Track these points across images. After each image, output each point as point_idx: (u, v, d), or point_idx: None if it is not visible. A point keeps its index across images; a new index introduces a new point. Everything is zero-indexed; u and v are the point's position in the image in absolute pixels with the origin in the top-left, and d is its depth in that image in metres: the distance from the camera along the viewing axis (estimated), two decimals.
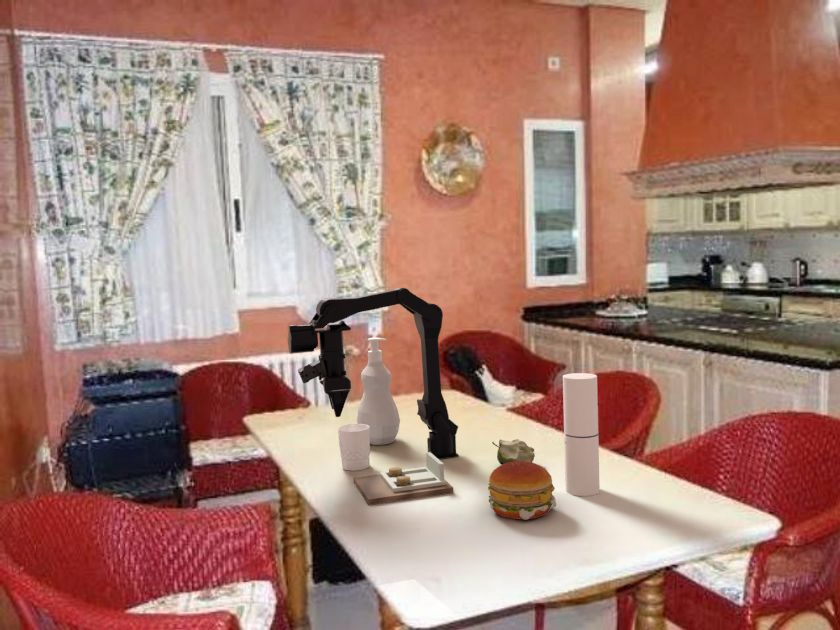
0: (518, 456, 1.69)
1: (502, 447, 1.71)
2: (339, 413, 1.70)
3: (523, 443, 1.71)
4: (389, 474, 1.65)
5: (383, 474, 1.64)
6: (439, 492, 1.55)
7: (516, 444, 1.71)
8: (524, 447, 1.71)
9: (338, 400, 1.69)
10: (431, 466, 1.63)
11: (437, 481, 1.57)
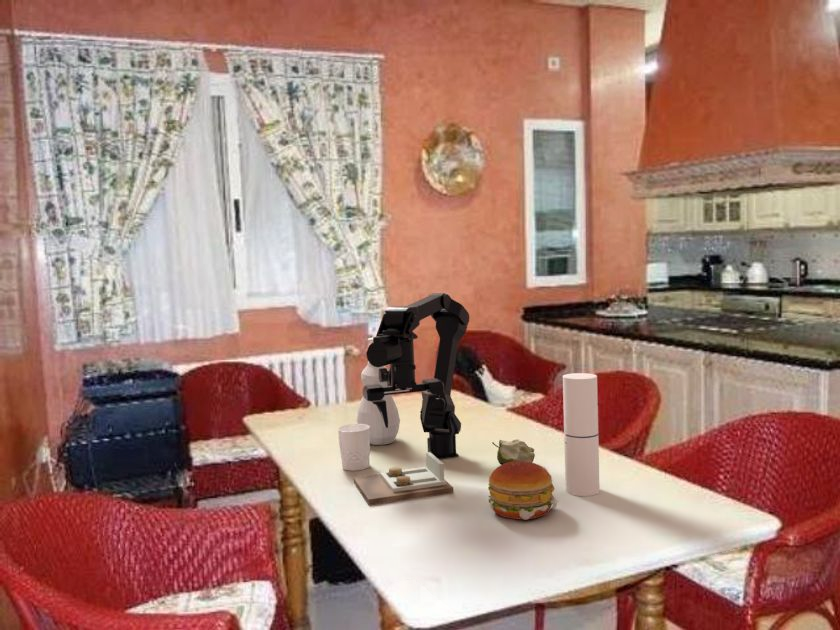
0: (518, 456, 1.68)
1: (502, 447, 1.70)
2: None
3: (523, 443, 1.71)
4: (389, 474, 1.65)
5: (383, 474, 1.64)
6: (439, 492, 1.55)
7: (516, 444, 1.71)
8: (524, 447, 1.70)
9: (381, 410, 1.67)
10: (431, 466, 1.63)
11: (437, 481, 1.57)
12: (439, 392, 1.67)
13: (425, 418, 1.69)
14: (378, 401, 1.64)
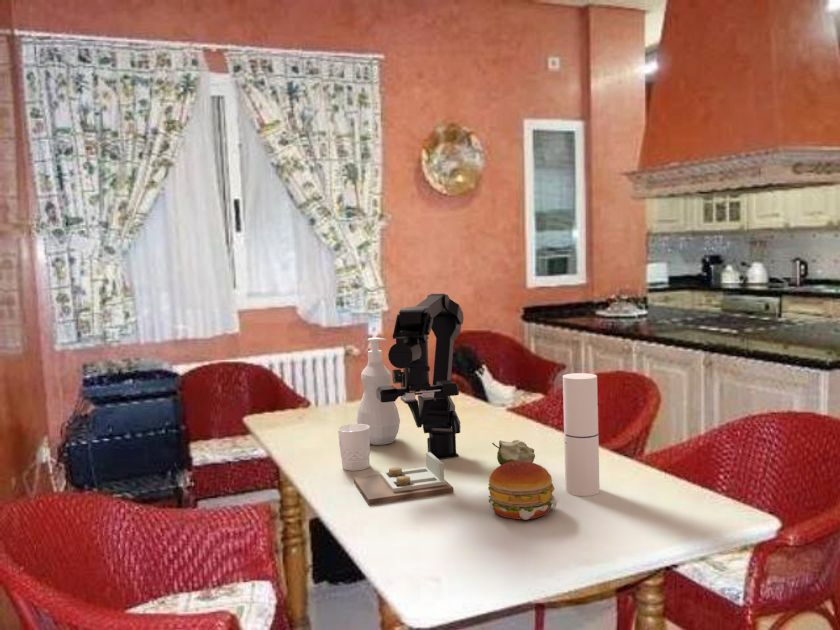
0: (518, 457, 1.68)
1: (502, 448, 1.70)
2: (416, 423, 1.67)
3: (523, 444, 1.71)
4: (389, 474, 1.65)
5: (383, 474, 1.64)
6: (439, 492, 1.55)
7: (516, 445, 1.70)
8: (524, 448, 1.70)
9: (412, 410, 1.66)
10: (431, 466, 1.63)
11: (437, 481, 1.57)
12: (453, 394, 1.66)
13: (421, 422, 1.66)
14: (410, 401, 1.64)
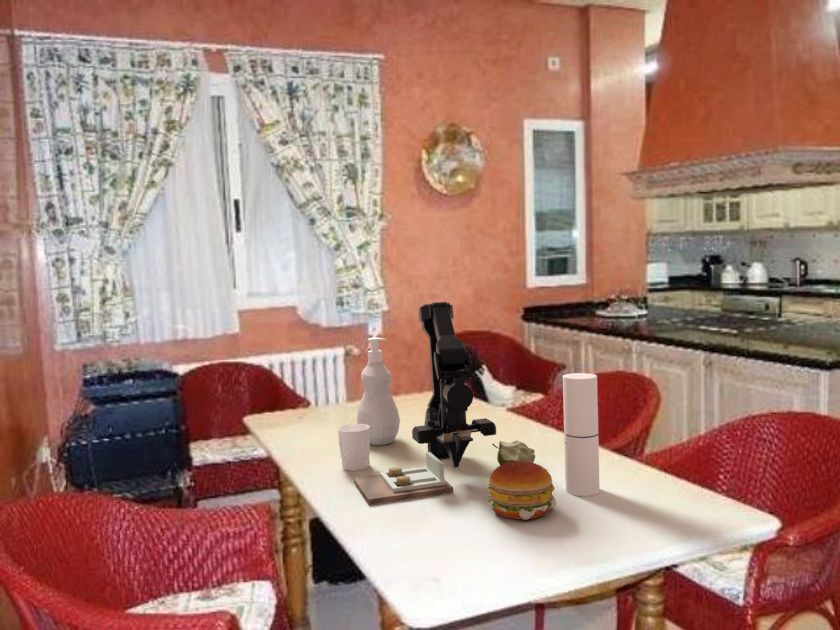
0: (518, 457, 1.67)
1: (502, 448, 1.69)
2: (453, 464, 1.64)
3: (523, 444, 1.70)
4: (389, 474, 1.65)
5: (383, 474, 1.64)
6: (439, 492, 1.55)
7: (516, 445, 1.70)
8: (524, 448, 1.70)
9: (449, 450, 1.63)
10: (431, 466, 1.63)
11: (437, 481, 1.57)
12: (491, 434, 1.63)
13: (458, 462, 1.63)
14: (448, 441, 1.60)
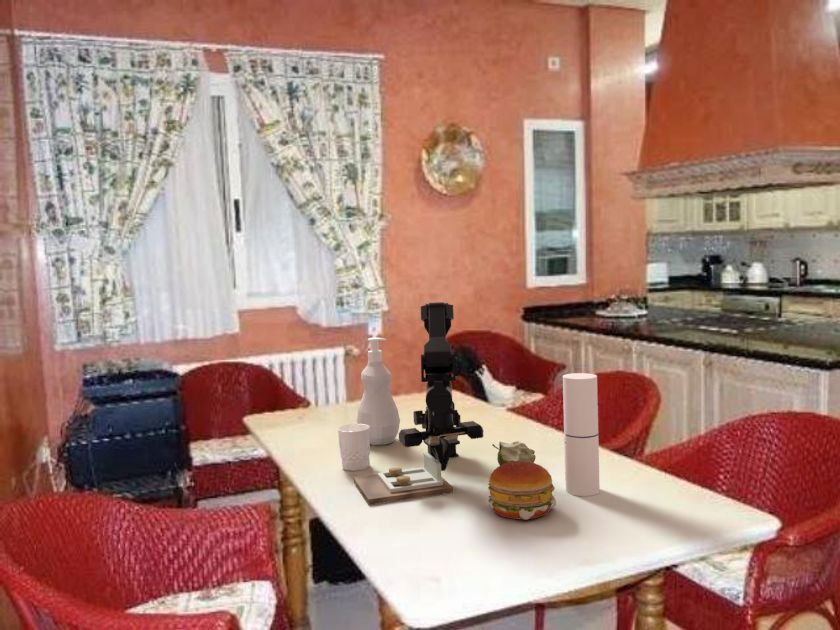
0: (519, 458, 1.67)
1: (503, 449, 1.69)
2: None
3: (524, 445, 1.70)
4: (386, 474, 1.65)
5: (380, 474, 1.64)
6: (439, 492, 1.55)
7: (517, 446, 1.69)
8: (525, 449, 1.69)
9: (436, 453, 1.62)
10: (429, 467, 1.63)
11: (434, 481, 1.57)
12: (478, 436, 1.62)
13: (445, 465, 1.62)
14: (435, 444, 1.59)
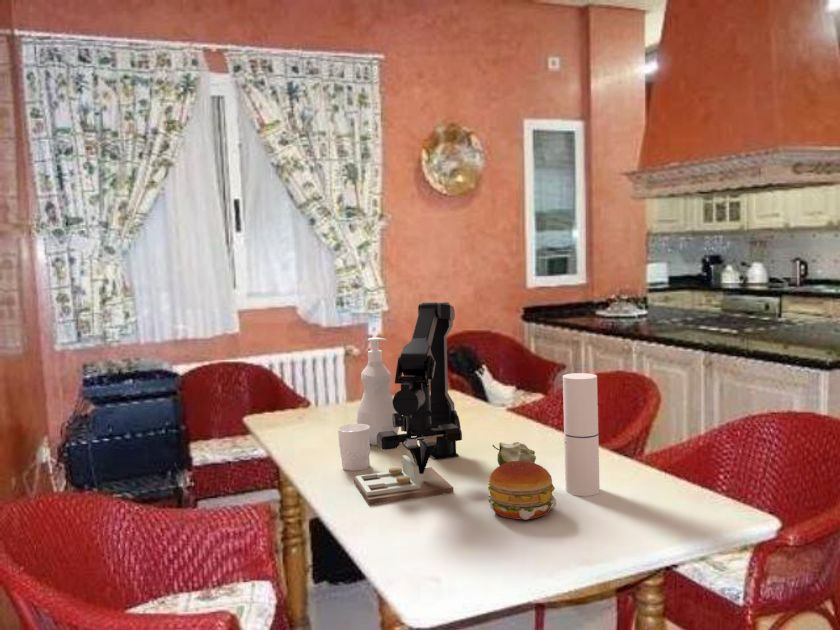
0: (519, 459, 1.66)
1: (503, 450, 1.68)
2: None
3: (524, 446, 1.69)
4: (364, 477, 1.64)
5: (358, 477, 1.62)
6: (439, 492, 1.55)
7: (517, 447, 1.68)
8: (525, 450, 1.68)
9: (414, 456, 1.61)
10: (407, 470, 1.62)
11: (412, 485, 1.56)
12: (456, 439, 1.60)
13: (423, 468, 1.61)
14: (412, 447, 1.58)
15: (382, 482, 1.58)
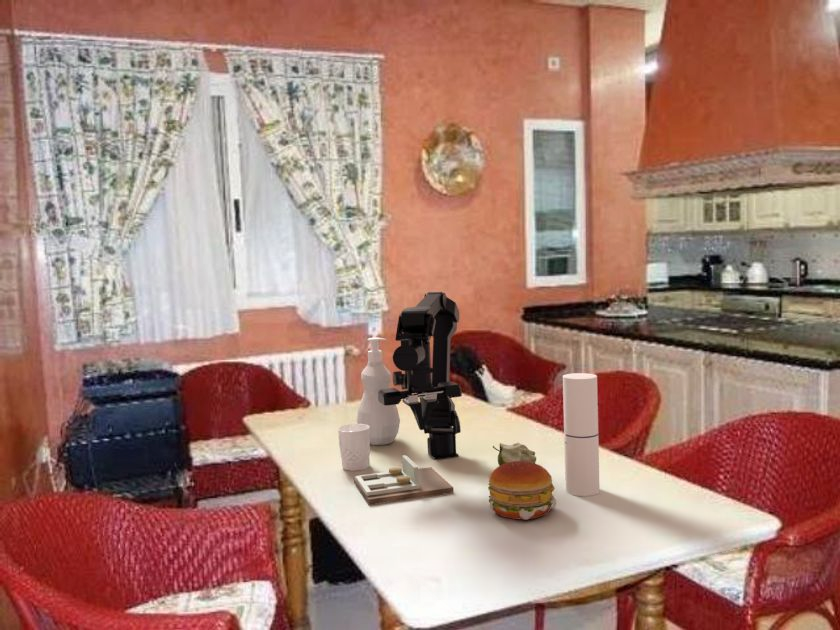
0: (520, 460, 1.65)
1: (503, 451, 1.67)
2: (419, 426, 1.64)
3: (524, 447, 1.68)
4: (364, 477, 1.64)
5: (358, 477, 1.62)
6: (439, 492, 1.55)
7: (517, 448, 1.68)
8: (525, 451, 1.68)
9: (415, 412, 1.64)
10: (407, 470, 1.62)
11: (411, 485, 1.56)
12: (456, 395, 1.64)
13: (424, 424, 1.64)
14: (413, 403, 1.61)
15: (382, 482, 1.58)
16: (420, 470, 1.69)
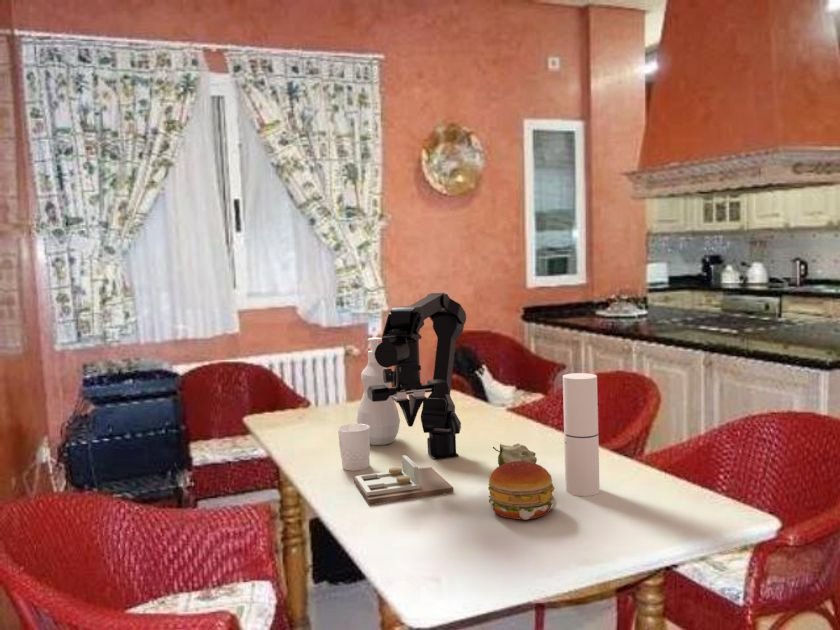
0: None
1: (504, 452, 1.67)
2: (407, 423, 1.67)
3: (525, 447, 1.68)
4: (364, 477, 1.64)
5: (358, 477, 1.62)
6: (439, 492, 1.55)
7: (518, 449, 1.67)
8: (526, 452, 1.67)
9: (404, 409, 1.67)
10: (407, 470, 1.62)
11: (411, 485, 1.56)
12: (444, 393, 1.66)
13: (412, 421, 1.67)
14: (402, 400, 1.64)
15: (382, 482, 1.58)
16: (420, 470, 1.69)
